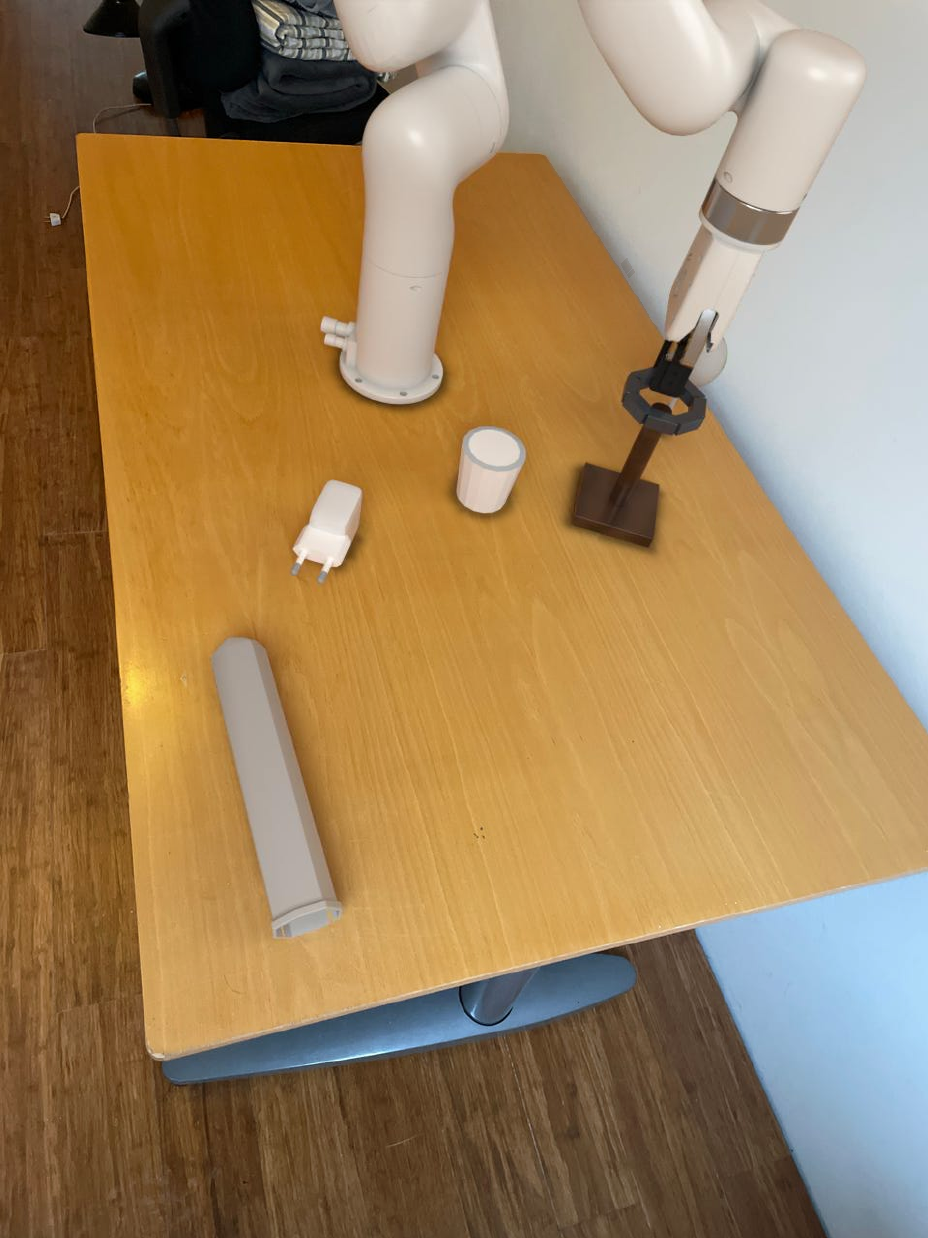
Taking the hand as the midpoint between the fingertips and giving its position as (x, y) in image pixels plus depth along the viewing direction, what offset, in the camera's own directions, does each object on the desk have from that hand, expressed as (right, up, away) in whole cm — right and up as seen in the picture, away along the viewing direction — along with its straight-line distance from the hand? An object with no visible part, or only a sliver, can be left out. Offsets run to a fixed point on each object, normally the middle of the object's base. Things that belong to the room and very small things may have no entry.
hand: (664, 384), depth 83 cm
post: (-3, -11, +10) cm, 15 cm away
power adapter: (-34, -18, -2) cm, 39 cm away
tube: (-37, -37, -16) cm, 55 cm away
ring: (-1, -3, -2) cm, 3 cm away
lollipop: (+4, 0, +20) cm, 20 cm away
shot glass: (-19, -10, +7) cm, 22 cm away
